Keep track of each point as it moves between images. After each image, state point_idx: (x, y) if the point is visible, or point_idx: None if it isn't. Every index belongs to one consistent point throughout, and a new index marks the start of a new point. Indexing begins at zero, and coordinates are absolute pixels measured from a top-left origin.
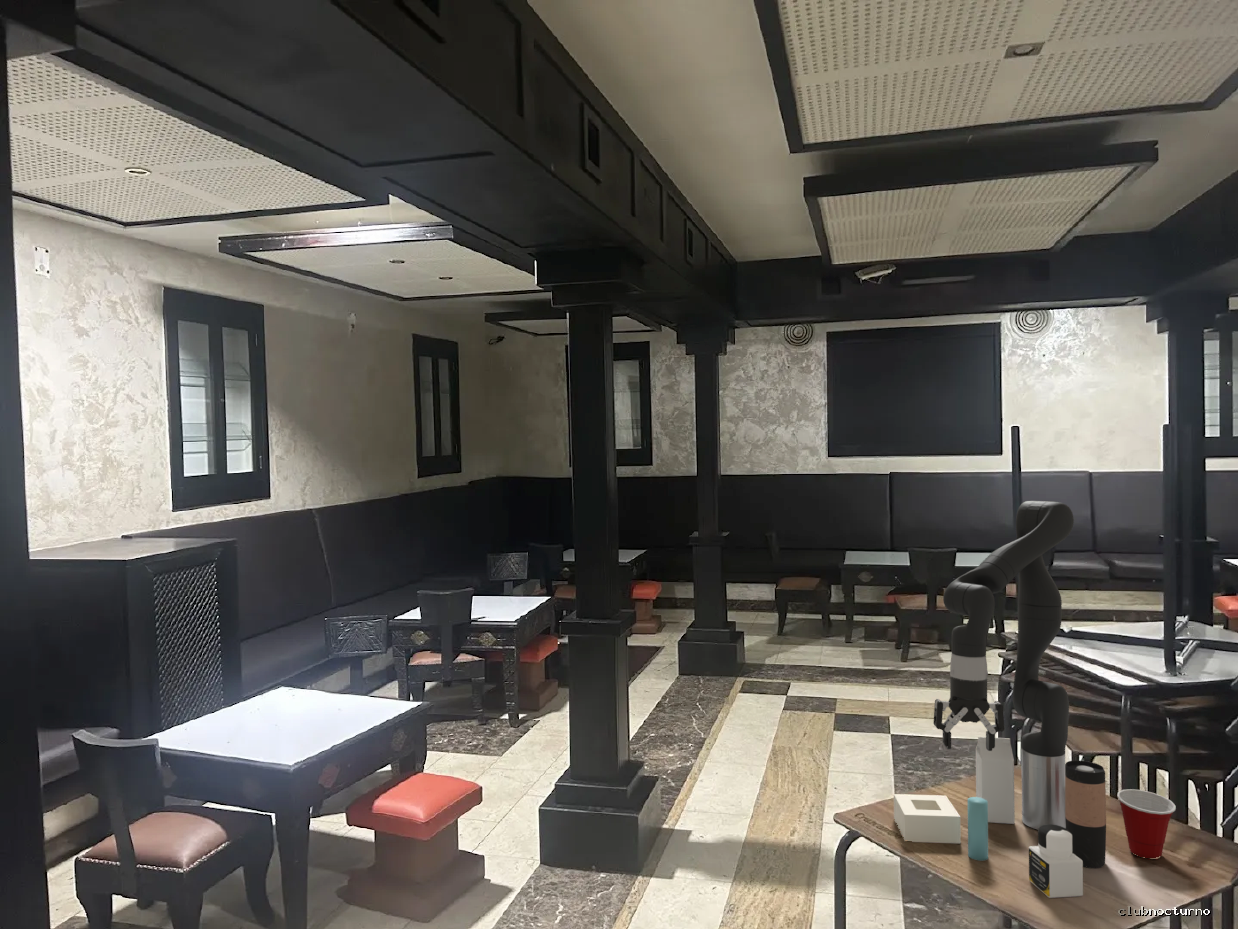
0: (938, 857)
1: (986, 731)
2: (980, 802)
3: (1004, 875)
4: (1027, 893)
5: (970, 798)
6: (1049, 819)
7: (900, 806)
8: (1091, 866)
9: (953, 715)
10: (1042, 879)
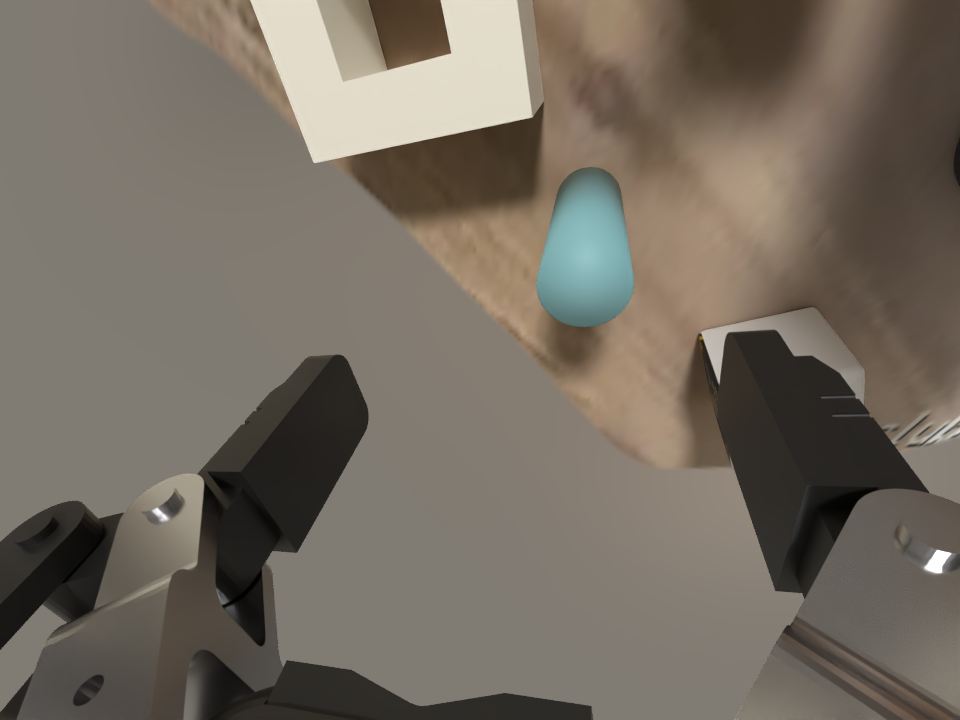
0: (464, 235)
1: (811, 498)
2: (593, 305)
3: (637, 309)
4: (666, 386)
5: (553, 265)
6: None
7: (275, 64)
8: None
9: (110, 699)
10: (715, 407)
